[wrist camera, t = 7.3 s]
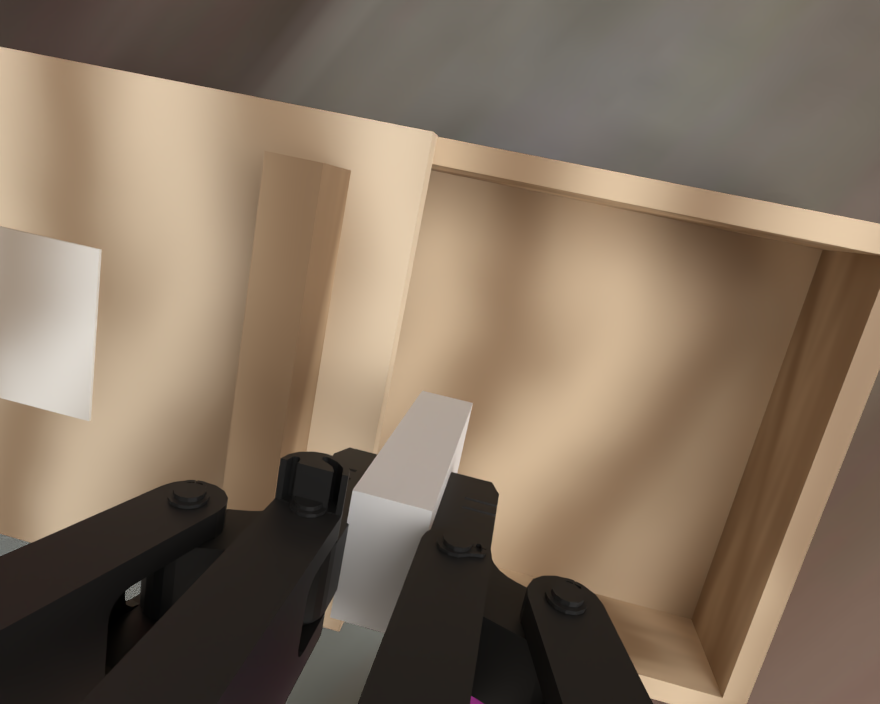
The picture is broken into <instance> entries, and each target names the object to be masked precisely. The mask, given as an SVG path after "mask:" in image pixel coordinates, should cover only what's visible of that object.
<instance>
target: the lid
mask: <svg viewBox="0 0 880 704" xmlns="http://www.w3.org/2000/svg"><path fill="white" fill-rule="evenodd" d="M436 141H437V135H436V134H435V133H434V132H432V131H426V130H421V129H416V128H411V127H406V126H401V125H396V124H391V123H386V122H381V121H376V120H370V119H365V118H360V117H355V116H350V115H345V114H340V113H335V112H330V111H325V110H320V109H314V108H309V107H304V106H299V105H294V104H289V103H284V102H279V101H274V100H269V99H264V98H258V97H253V96H248V95H243V94H238V93H233V92H228V91H223V90H218V89H213V88H208V87H202V86H197V85H192V84H187V83H182V82H177V81H172V80H167V79H162V78H157V77H152V76H146V75H141V74H136V73H131V72H126V71H121V70H116V69H111V68H106V67H101V66H96V65H90V64H85V63H80V62H75V61H70V60H65V59H60V58H55V57H50V56H45V55H40V54H35V53H29V52H24V51H19V50H14V49H9V48H4V47H0V534H3V535H7V536H10V537H14V538H17V539H20V540H24V541H27V542H31V543H32V542H34V541H37V540H39V539H41V538H44V537H46V536H48V535H50V534H53V533H55V532H57V531H59V530H62V529H64V528H66V527H69V526H71V525H73V524H75V523H78V522H80V521H82V520H85V519H87V518H89V517H91V516H94V515H96V514H98V513H100V512H103V511H105V510H107V509H110V508H112V507H114V506H116V505H119V504H121V503H123V502H125V501H128V500H130V499H132V498H135V497H137V496H139V495H141V494H144V493H146V492H148V491H150V490H153V489H155V488H157V487H160V486H162V485H165V484H169V483H172V482H177V481H186V480H196V481H198V480H199V481H204V482H207V483H210V484H214V485H216V486H218V487H219V488H221V489H222V490H224V491H225V493H226V495H227V497H228V502H227V509H233V510H246V511H263V510H264V509H265V508H266V507H267V506H268V505H269V504H270V503H271V502H272V501H273V500H274V499H275V494H276V487H277V480H278V473H279V466H280V459H281V458H282V457H284V456H286V455H288V454H291V453H296V452H319V453H325V454H329V455H332V456H333V454H334V453H336V452H339V451H342V450H344V449H347V448H349V447H350V448H354V449H358V450H362V451H366V452H370V453H374V454H377V452H378V447H379V441H380V436H381V431H382V426H383V420H384V415H385V410H386V404H387V399H388V394H389V389H390V383H391V378H392V373H393V368H394V362H395V357H396V352H397V347H398V341H399V336H400V331H401V326H402V320H403V315H404V310H405V304H406V299H407V294H408V289H409V283H410V278H411V273H412V268H413V262H414V257H415V252H416V247H417V241H418V236H419V231H420V226H421V220H422V215H423V210H424V205H425V199H426V194H427V189H428V183H429V178H430V173H431V168H432V162H433V157H434V152H435V147H436ZM333 598H334V596H333ZM333 598H332V600H331V602H330V604H329V605H328V607H327V609H326V611H325V616H324V622H323V627H325V628H328V629H332V630H335V631H340V629H341V627H342V625H343V623H344V621H341V620H337V619H334V618H331V617H330V615H331V609H332V603H333Z"/></svg>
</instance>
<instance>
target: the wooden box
mask: <svg viewBox="0 0 880 704" xmlns="http://www.w3.org/2000/svg"><path fill="white" fill-rule="evenodd" d="M879 369H880V224H877V223H872V222H867V221H862V220H857V219H852V218H847V217H842V216H837V215H832V214H827V213H822V212H817V211H812V210H806V209H801V208H796V207H791V206H786V205H781V204H776V203H771V202H766V201H761V200H756V199H751V198H746V197H741V196H735V195H730V194H725V193H720V192H715V191H710V190H705V189H700V188H695V187H690V186H685V185H680V184H675V183H670V182H664V181H659V180H654V179H649V178H644V177H639V176H634V175H629V174H624V173H619V172H614V171H609V170H604V169H599V168H593V167H588V166H583V165H578V164H573V163H568V162H563V161H558V160H553V159H548V158H543V157H538V156H533V155H528V154H522V153H517V152H512V151H507V150H502V149H497V148H492V147H487V146H482V145H477V144H472V143H467V142H462V141H457V140H451V139H446V138H441V137H437V141H436V147H435V152H434V157H433V162H432V168H431V173H430V178H429V183H428V189H427V194H426V199H425V205H424V210H423V215H422V220H421V226H420V231H419V236H418V241H417V247H416V252H415V257H414V262H413V268H412V273H411V278H410V283H409V289H408V294H407V299H406V304H405V310H404V315H403V320H402V326H401V331H400V336H399V341H398V347H397V352H396V357H395V362H394V368H393V373H392V378H391V383H390V389H389V394H388V399H387V404H386V410H385V415H384V420H383V426H382V431H381V436H380V441H379V447H378V452H377V454H378V453H379V452H380V450H381V449H382V447H383V446H384V445H385V443H386V442H387V440H388V439H389V437H390V436H391V435H392V433H393V432H394V430H395V429H396V427H397V426H398V424H399V423H400V422H401V420H402V419H403V417H404V416H405V414H406V413H407V412H408V410H409V409H410V407H411V406H412V404H413V403H414V402H415V400H416V399H417V397H418V396H419V394H420V393H421V392H422V391H426V392H430V393H434V394H438V395H442V396H446V397H450V398H454V399H459V400H463V401H467V402H471V403H473V405H472V410H471V414H470V418H469V423H468V427H467V432H466V436H465V441H464V445H463V450H462V454H461V459H460V463H459V468H458V472H457V473H458V474H462V475H466V476H469V477H473V478H477V479H481V480H485V481H489V482H492V483H493V485H494V487H495V488H496V490H497V492H498V493H499V498H498V505H497V511H496V518H495V525H494V531H493V538H492V544H491V554H492V560H493V562H494V564H495V565H496V566H497V568H498V569H499V570H500V571H501V572H502V573H504V574H505V575H506V576H507V577H509V578H510V579H512V580H514V581H516V582H517V583H519V584H521V585H523V586H525V587H527V586H528V585H529V583H530V582H531V581H532V579H534V578H537V577H540V576H560V577H564V578H569V579H572V580H574V581H575V582H576V581H577V582H578V583H580V584H582V585H584V586H585V587H586V588H588V589H589V590H590V591H592V592H593V593H594V594H596V596H597V597H598V598H599V600H600V601H601V602H602V603H603V605H604V607H605V609H606V611H607V613H608V615H609V617H610V619H611V621H612V623H613V625H614V627H615V629H616V631H617V633H618V635H619V637H620V639H621V641H622V643H623V645H624V647H625V649H626V651H627V653H628V655H629V657H630V659H631V661H632V663H633V665H634V667H635V669H636V671H637V673H638V675H639V677H640V679H641V681H642V683H643V685H644V687H645V689H646V691H647V693H648V695H649V697H650V698H652V699H655V700H659V701H662V702H666V703H670V704H747V701H748V699H749V696H750V694H751V691H752V689H753V686H754V684H755V681H756V679H757V676H758V674H759V671H760V669H761V666H762V664H763V661H764V659H765V656H766V654H767V651H768V649H769V646H770V644H771V641H772V639H773V636H774V634H775V631H776V628H777V626H778V623H779V621H780V618H781V616H782V613H783V611H784V608H785V606H786V603H787V601H788V598H789V596H790V593H791V591H792V588H793V586H794V583H795V581H796V578H797V576H798V573H799V571H800V568H801V566H802V563H803V561H804V558H805V555H806V553H807V550H808V548H809V545H810V543H811V540H812V538H813V535H814V533H815V530H816V528H817V525H818V523H819V520H820V518H821V515H822V513H823V510H824V508H825V505H826V503H827V500H828V498H829V495H830V493H831V490H832V488H833V485H834V482H835V480H836V477H837V475H838V472H839V470H840V467H841V465H842V462H843V460H844V457H845V455H846V452H847V450H848V447H849V445H850V442H851V440H852V437H853V435H854V432H855V430H856V427H857V425H858V422H859V420H860V417H861V415H862V412H863V409H864V407H865V404H866V402H867V399H868V397H869V394H870V392H871V389H872V387H873V384H874V382H875V379H876V377H877V374H878V372H879Z"/></svg>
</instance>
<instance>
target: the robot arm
mask: <svg viewBox="0 0 880 704" xmlns="http://www.w3.org/2000/svg"><path fill="white" fill-rule="evenodd" d="M472 405H473V403H471V402H467V401H463V400H459V399H454V398H450V397H446V396H442V395H438V394H434V393H430V392H426V391H422V392H421V393H420V394H419V396H418V397H417V399H416V400H415V402H414V403H413V404H412V406H411V407H410V409H409V410H408V412H407V413H406V414H405V416H404V417H403V419H402V420H401V422H400V423H399V424H398V426H397V427H396V429H395V430H394V432H393V433H392V435H391V436H390V437H389V439H388V440H387V442H386V443H385V445H384V446H383V447H382V449H381V450H380V452H379V453H378V454H374V453H370V452H366V451H362V450H358V449H354V448H350V447H349V448H347V449H344V450H342V451H339V452H336V453H334V454H333V456H332V455H329V454H325V453H319V452H296V453H291V454H288V455H286V456H284V457H282V458H281V459H280V466H279V473H278V480H277V487H276V494H275V499H274V500H273V501H272V502H271V503H270V504H269V505H268V506H267V507H266V508H265V509H264V510H263V511H246V510H233V509H227V502H228V497H227V495H226V493H225V491H224V490H222V489H221V488H219V487H218V486H216V485H214V484H210V483H207V482H204V481H199V480H198V481H196V480H186V481H177V482H172V483H169V484H165V485H162V486H160V487H157V488H155V489H153V490H150V491H148V492H146V493H144V494H141V495H139V496H137V497H135V498H132V499H130V500H128V501H125V502H123V503H121V504H119V505H116V506H114V507H112V508H110V509H107V510H105V511H103V512H100V513H98V514H96V515H94V516H91V517H89V518H87V519H85V520H82V521H80V522H78V523H75V524H73V525H71V526H69V527H66V528H64V529H62V530H59V531H57V532H55V533H53V534H50V535H48V536H46V537H44V538H41V539H39V540H37V541H34V542H32V543H30V544H28V545H25V546H23V547H21V548H19V549H16V550H14V551H12V552H9V553H7V554H5V555H3V556H0V704H285V702H286V700H287V698H288V696H289V695H290V693H291V691H292V689H293V687H294V685H295V683H296V681H297V679H298V677H299V676H300V674H301V672H302V670H303V668H304V666H305V664H306V662H307V660H308V658H309V657H310V655H311V653H312V651H313V649H314V647H315V645H316V643H317V641H318V639H319V638H320V636H321V632H322V627H323V622H324V616H325V611H326V609H327V607H328V605H329V604H330V602H331V600H332V598H333V596H334V598H333V603H332V609H331V615H330V617H331V618H334V619H337V620H341V621H344V622H348V623H351V624H355V625H358V626H361V627H365V628H368V629H372V630H375V631H378V632H382V633H385V634H384V637H383V639H382V642H381V644H380V647H379V650H378V652H377V655H376V658H375V660H374V663H373V665H372V668H371V671H370V673H369V676H368V678H367V681H366V684H365V686H364V689H363V692H362V694H361V697H360V699H359V702H358V704H470V701H471V696H472V697H474V698H476V699H477V700H479V701H481V702H482V703H484V704H653V703H652V701H651V699H650V697H649V695H648V693H647V691H646V689H645V687H644V685H643V683H642V681H641V679H640V677H639V675H638V673H637V671H636V669H635V667H634V665H633V663H632V661H631V659H630V657H629V655H628V653H627V651H626V649H625V647H624V645H623V643H622V641H621V639H620V637H619V635H618V633H617V631H616V629H615V627H614V625H613V623H612V621H611V619H610V617H609V615H608V613H607V611H606V609H605V607H604V605H603V603H602V602H601V601H600V600H599V598H598V597H597V596H596V594H594V593H593V592H592V591H590V590H589V589H588V588H586V587H585V586H584V585H582V584H580V583H578V582H577V581H576V582H575V581H574V580H572V579H569V578H564V577H560V576H540V577H537V578H534V579H532V581H531V582H530V583H529V585H528V586H527V587H525V586H523V585H521V584H519V583H517V582H516V581H514V580H512V579H510V578H509V577H507V576H506V575H505V574H504V573H502V572H501V571H500V570H499V569H498V568H497V566H496V565H495V564H494V562H493V560H492V554H491V544H492V538H493V531H494V525H495V518H496V511H497V505H498V498H499V493H498V492H497V490H496V488H495V487H494V485H493V483H492V482H489V481H485V480H481V479H477V478H473V477H469V476H466V475H462V474H458V473H457V472H458V468H459V463H460V459H461V454H462V450H463V445H464V441H465V436H466V432H467V427H468V423H469V418H470V414H471V410H472ZM139 581H141V591H140V594H139V595H137V596H136V597H134V598H132V599H130V600H128V601H125V591H126V590H127V589H128V588H129V587H131V586H132V585H134V584H136V583H137V582H139Z"/></svg>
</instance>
